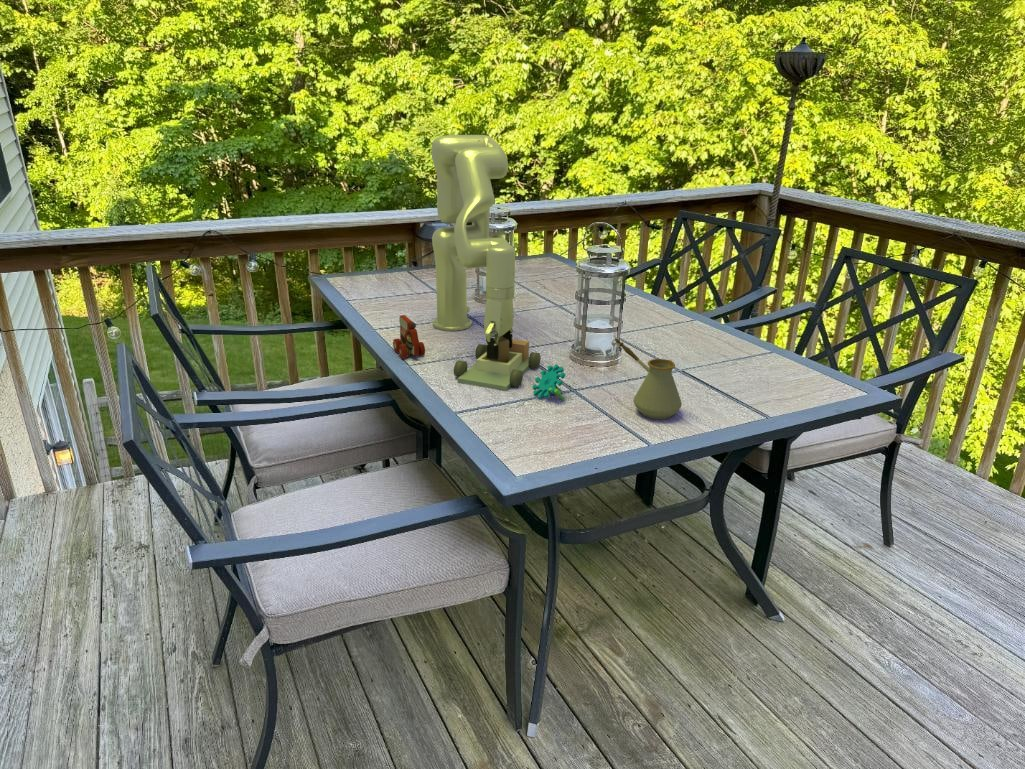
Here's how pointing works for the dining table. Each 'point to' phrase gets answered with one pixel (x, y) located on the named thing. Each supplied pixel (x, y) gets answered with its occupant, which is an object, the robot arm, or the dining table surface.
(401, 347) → the red toy vehicle
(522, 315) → the dining table surface
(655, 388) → the coffee pot
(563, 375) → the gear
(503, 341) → the wooden block
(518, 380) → the chassis
